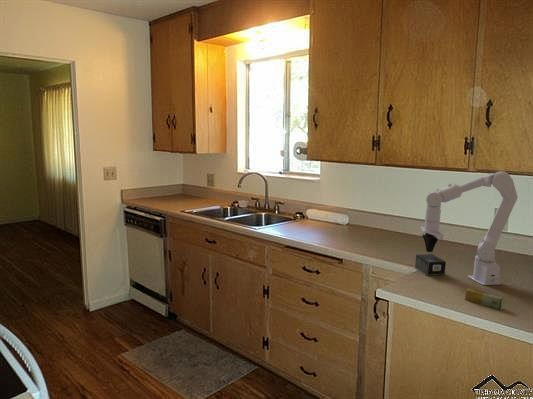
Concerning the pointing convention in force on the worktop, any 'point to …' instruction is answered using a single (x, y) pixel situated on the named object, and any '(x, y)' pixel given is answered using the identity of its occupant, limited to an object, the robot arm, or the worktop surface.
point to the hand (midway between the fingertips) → (429, 251)
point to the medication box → (484, 299)
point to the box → (430, 264)
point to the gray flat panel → (425, 273)
